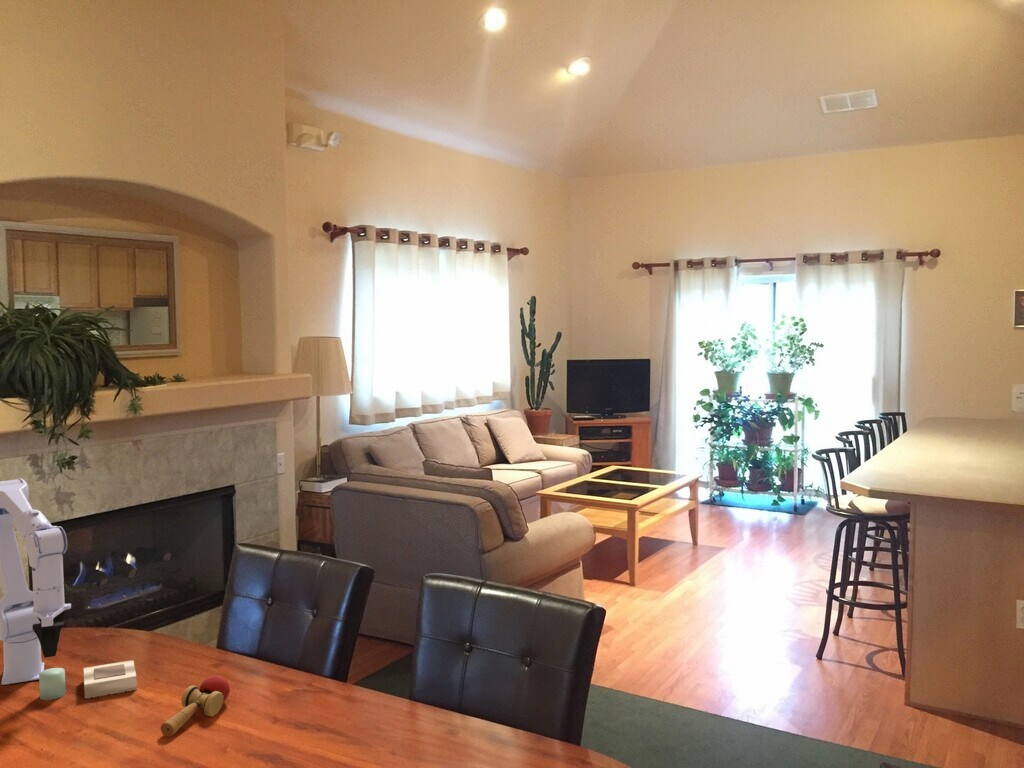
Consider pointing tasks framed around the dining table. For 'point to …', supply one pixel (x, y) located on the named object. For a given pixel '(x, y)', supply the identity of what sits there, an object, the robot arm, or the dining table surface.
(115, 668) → the birch base
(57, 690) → the pale green rounded cylinder
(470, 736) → the dining table surface
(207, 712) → the kendama
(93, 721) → the dining table surface
